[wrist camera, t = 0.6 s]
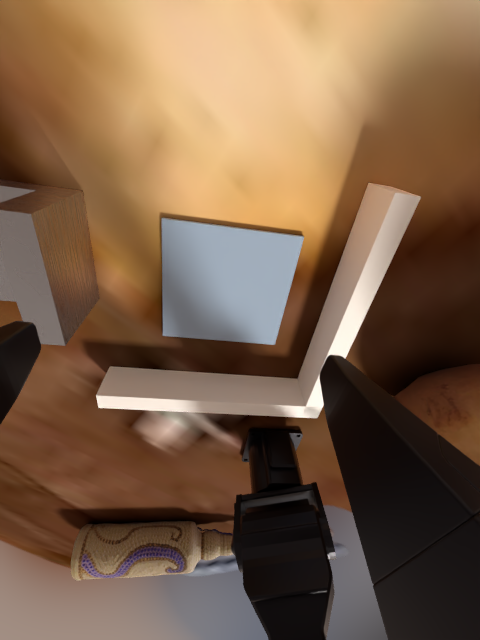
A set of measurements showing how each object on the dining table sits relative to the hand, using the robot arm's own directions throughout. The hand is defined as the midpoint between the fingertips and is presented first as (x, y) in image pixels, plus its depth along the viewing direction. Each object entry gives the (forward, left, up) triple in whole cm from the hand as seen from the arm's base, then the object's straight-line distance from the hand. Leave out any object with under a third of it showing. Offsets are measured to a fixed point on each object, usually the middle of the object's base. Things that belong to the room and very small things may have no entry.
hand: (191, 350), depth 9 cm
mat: (-5, -2, -13) cm, 14 cm away
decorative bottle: (-51, +4, -14) cm, 53 cm away
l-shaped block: (-6, -2, -13) cm, 14 cm away
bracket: (-3, +11, -13) cm, 18 cm away
